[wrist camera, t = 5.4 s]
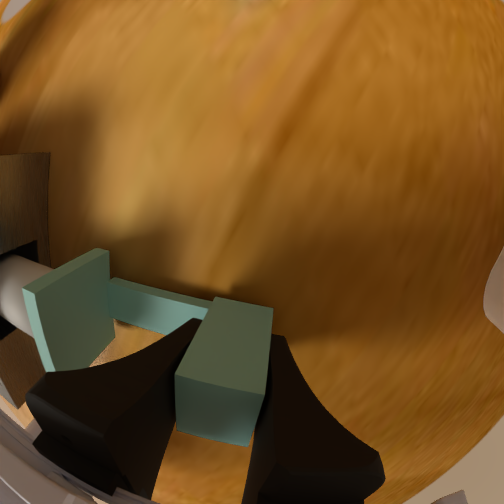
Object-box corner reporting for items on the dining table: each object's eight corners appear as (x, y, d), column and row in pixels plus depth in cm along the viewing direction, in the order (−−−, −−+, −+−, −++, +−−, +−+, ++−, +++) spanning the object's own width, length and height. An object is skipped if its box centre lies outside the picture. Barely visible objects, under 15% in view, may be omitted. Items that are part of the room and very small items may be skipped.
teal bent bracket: (257, 370, 13) (243, 458, 8) (42, 301, 14) (-11, 340, 9) (278, 282, 11) (272, 368, 6) (33, 228, 12) (-34, 255, 7)
